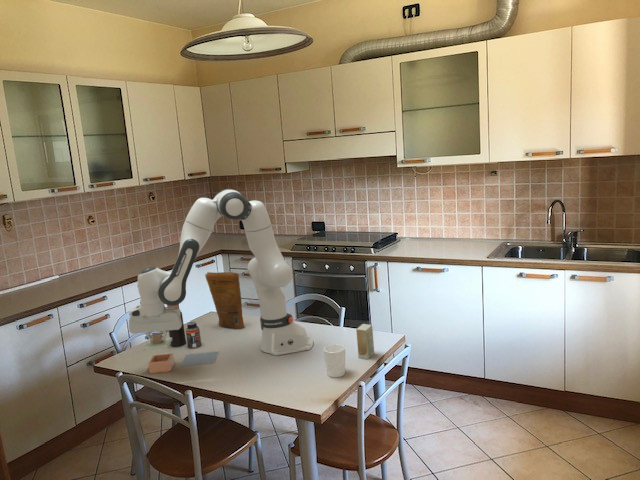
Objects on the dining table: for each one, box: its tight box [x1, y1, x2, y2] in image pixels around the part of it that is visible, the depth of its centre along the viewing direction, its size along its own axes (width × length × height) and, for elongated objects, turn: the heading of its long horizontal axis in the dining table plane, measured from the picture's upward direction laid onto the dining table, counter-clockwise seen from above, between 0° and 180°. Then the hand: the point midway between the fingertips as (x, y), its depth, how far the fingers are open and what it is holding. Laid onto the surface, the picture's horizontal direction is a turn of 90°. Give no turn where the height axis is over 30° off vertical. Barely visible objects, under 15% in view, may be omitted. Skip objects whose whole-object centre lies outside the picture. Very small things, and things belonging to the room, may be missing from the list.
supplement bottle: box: [185, 321, 202, 349], centre depth 231 cm, size 6×6×11 cm
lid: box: [143, 333, 172, 351], centre depth 209 cm, size 9×9×4 cm
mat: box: [179, 350, 220, 368], centre depth 218 cm, size 14×12×1 cm
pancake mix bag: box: [204, 271, 246, 330], centre depth 252 cm, size 7×19×28 cm, turn 59°
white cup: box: [323, 343, 346, 378], centre depth 194 cm, size 8×8×10 cm
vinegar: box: [166, 304, 187, 348], centre depth 234 cm, size 7×7×20 cm
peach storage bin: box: [147, 352, 176, 375], centre depth 211 cm, size 8×8×5 cm
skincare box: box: [355, 323, 375, 360], centre depth 207 cm, size 6×4×12 cm
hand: (158, 341), depth 209 cm, fingers closed on lid, 3 cm apart
